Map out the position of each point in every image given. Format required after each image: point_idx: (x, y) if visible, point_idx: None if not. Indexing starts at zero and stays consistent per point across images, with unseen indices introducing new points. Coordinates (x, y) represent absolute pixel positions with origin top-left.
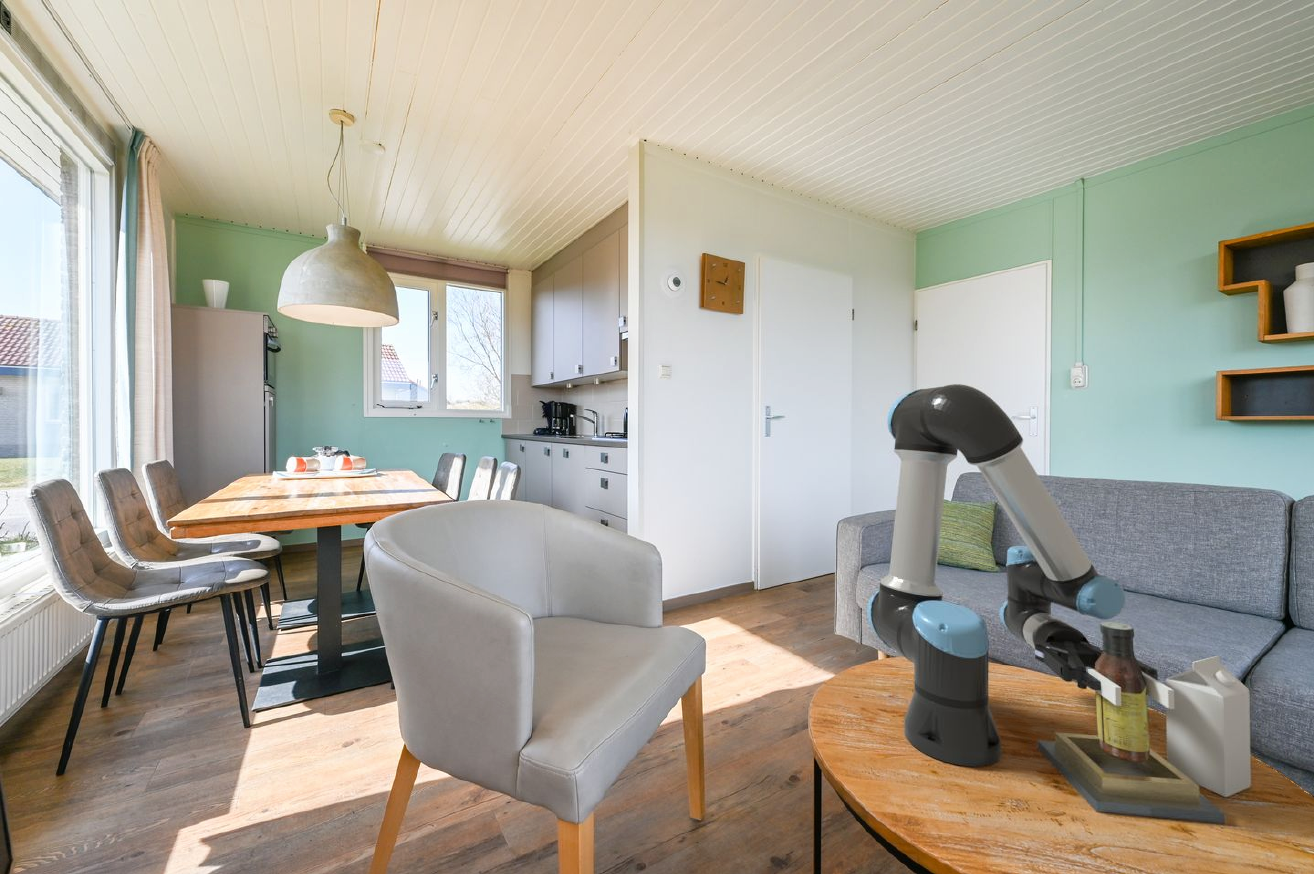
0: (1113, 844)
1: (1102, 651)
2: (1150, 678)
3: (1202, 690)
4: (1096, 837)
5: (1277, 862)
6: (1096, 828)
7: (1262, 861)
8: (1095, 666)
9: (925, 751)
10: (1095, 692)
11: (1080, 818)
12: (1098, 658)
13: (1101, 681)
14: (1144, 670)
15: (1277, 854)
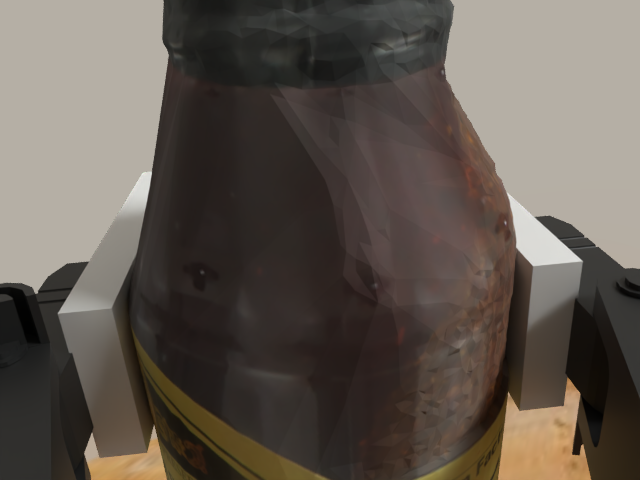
0: (511, 401)
1: (443, 73)
2: (128, 237)
3: None
4: (546, 412)
5: (154, 443)
6: (541, 441)
7: None
8: (514, 232)
9: None
10: (499, 464)
11: (580, 468)
12: (481, 169)
13: None
14: (19, 314)
15: (122, 469)
